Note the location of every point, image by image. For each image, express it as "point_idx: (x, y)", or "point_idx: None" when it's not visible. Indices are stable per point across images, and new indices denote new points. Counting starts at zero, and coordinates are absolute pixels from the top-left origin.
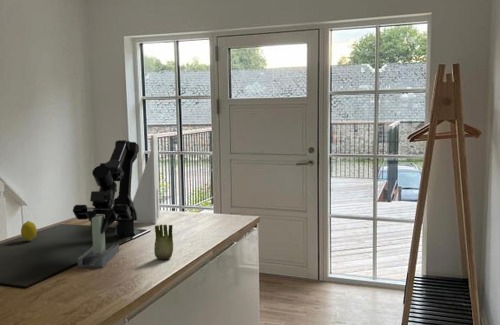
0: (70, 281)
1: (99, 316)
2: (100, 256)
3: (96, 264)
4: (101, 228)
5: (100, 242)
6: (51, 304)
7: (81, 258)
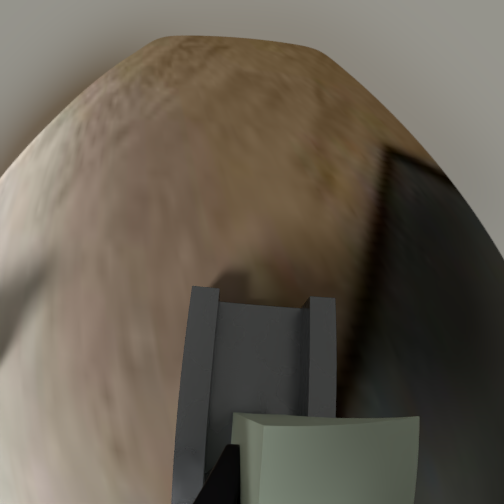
0: (284, 167)
1: (164, 41)
2: (212, 329)
3: (230, 316)
4: (236, 473)
5: (235, 421)
6: (268, 69)
7: (314, 300)
